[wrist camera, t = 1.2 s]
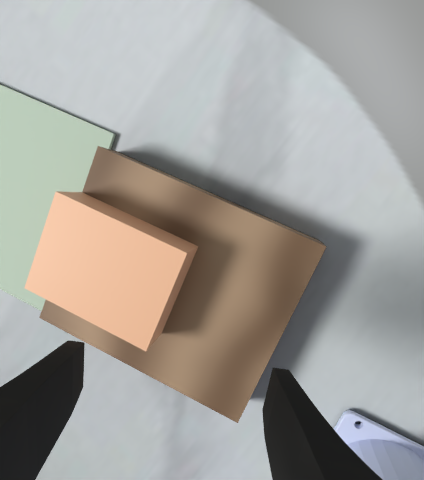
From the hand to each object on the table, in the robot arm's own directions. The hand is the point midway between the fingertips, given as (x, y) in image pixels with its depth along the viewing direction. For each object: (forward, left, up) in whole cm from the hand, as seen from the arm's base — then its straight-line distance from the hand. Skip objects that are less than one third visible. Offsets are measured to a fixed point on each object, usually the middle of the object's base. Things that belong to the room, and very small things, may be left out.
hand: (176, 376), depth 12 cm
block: (+6, 0, -7) cm, 10 cm away
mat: (+18, 0, -10) cm, 20 cm away
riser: (+3, 0, -10) cm, 10 cm away
